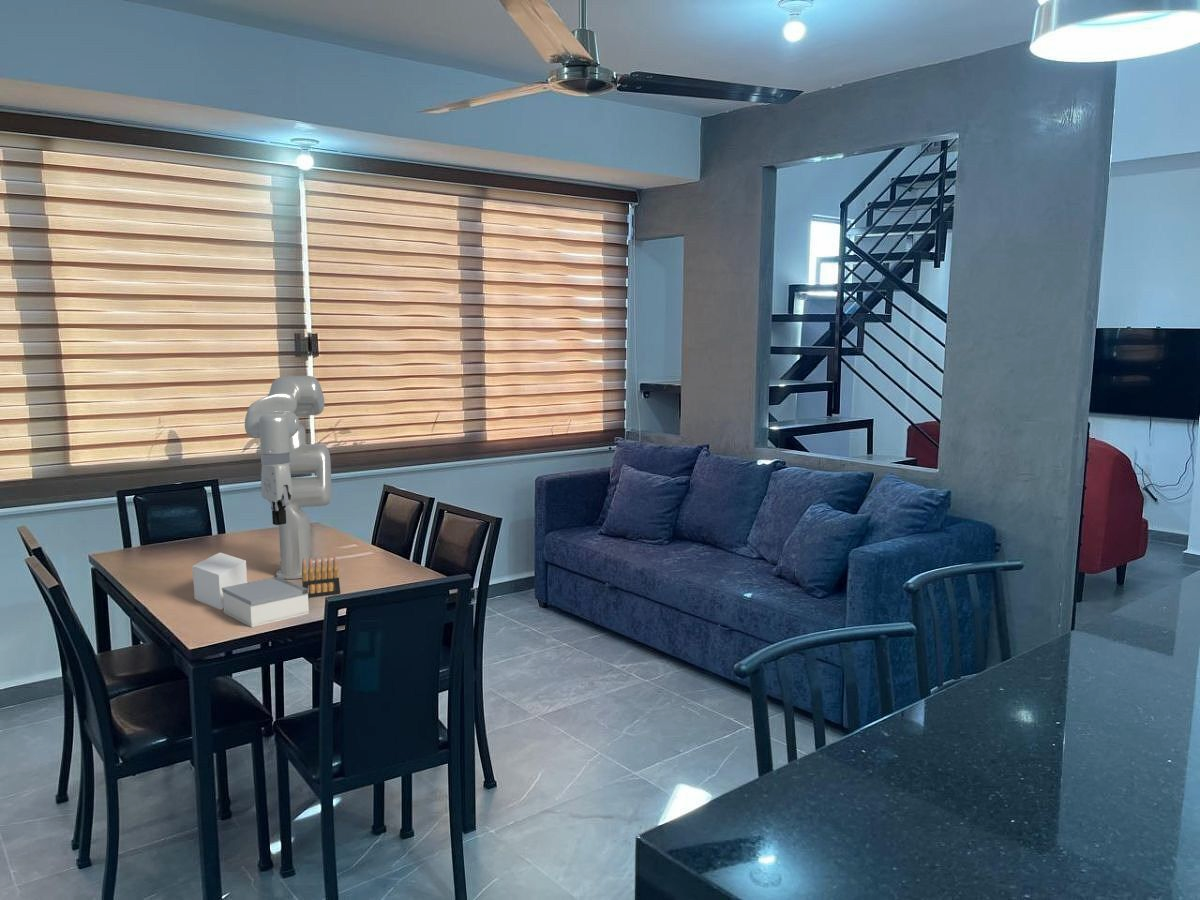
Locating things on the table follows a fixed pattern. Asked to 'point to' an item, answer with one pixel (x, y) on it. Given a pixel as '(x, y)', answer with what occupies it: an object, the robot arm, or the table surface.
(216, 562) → the white rectangular block
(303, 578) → the ammunition clip
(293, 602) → the box
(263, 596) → the lid
